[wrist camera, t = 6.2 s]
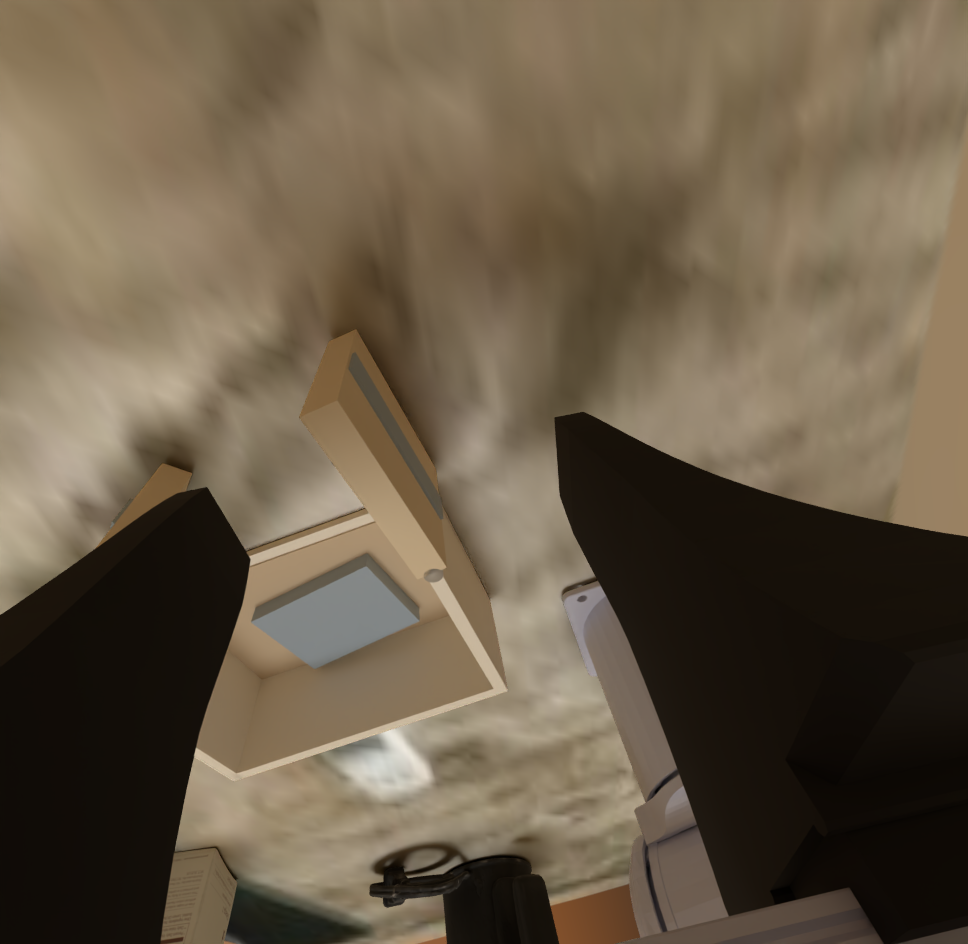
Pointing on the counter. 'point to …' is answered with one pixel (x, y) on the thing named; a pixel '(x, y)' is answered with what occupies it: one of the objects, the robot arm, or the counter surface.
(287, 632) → the booklet
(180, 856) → the supplement box
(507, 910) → the milk frother
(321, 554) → the carton
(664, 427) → the counter surface
